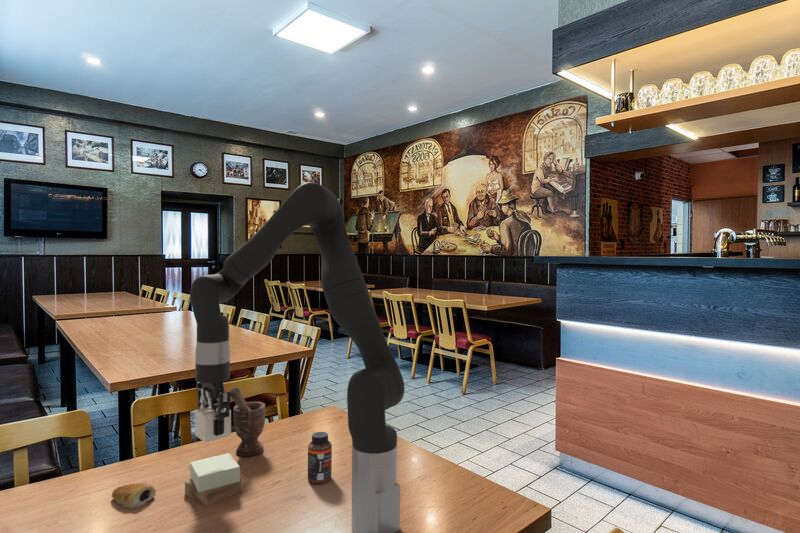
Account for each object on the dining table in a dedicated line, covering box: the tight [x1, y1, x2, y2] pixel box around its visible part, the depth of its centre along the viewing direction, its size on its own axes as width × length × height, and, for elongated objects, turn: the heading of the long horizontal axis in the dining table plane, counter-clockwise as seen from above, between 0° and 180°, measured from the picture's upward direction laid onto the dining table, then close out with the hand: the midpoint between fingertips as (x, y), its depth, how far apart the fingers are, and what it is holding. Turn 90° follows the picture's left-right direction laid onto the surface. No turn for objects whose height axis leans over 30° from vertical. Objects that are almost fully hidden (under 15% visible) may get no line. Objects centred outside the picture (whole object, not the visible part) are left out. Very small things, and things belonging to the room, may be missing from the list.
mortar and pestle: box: [229, 387, 266, 458], centre depth 131 cm, size 12×9×20 cm
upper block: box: [189, 452, 241, 492], centre depth 110 cm, size 9×9×4 cm
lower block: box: [184, 476, 243, 507], centre depth 110 cm, size 9×9×4 cm
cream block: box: [194, 407, 232, 444], centre depth 110 cm, size 6×6×6 cm
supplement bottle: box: [307, 431, 333, 485], centre depth 117 cm, size 6×6×11 cm
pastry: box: [111, 482, 156, 509], centre depth 107 cm, size 9×7×4 cm
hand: (212, 430), depth 110 cm, fingers closed on cream block, 6 cm apart
